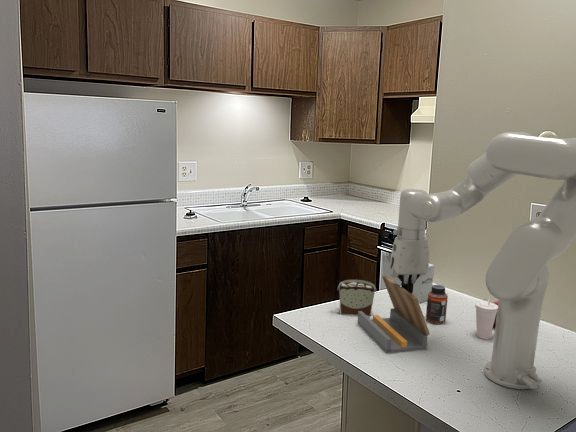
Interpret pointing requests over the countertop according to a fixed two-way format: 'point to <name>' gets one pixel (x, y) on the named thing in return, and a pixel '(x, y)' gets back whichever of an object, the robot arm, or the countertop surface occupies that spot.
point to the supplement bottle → (436, 305)
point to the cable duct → (393, 332)
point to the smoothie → (485, 317)
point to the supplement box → (423, 285)
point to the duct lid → (406, 304)
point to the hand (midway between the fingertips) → (406, 295)
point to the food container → (356, 297)
